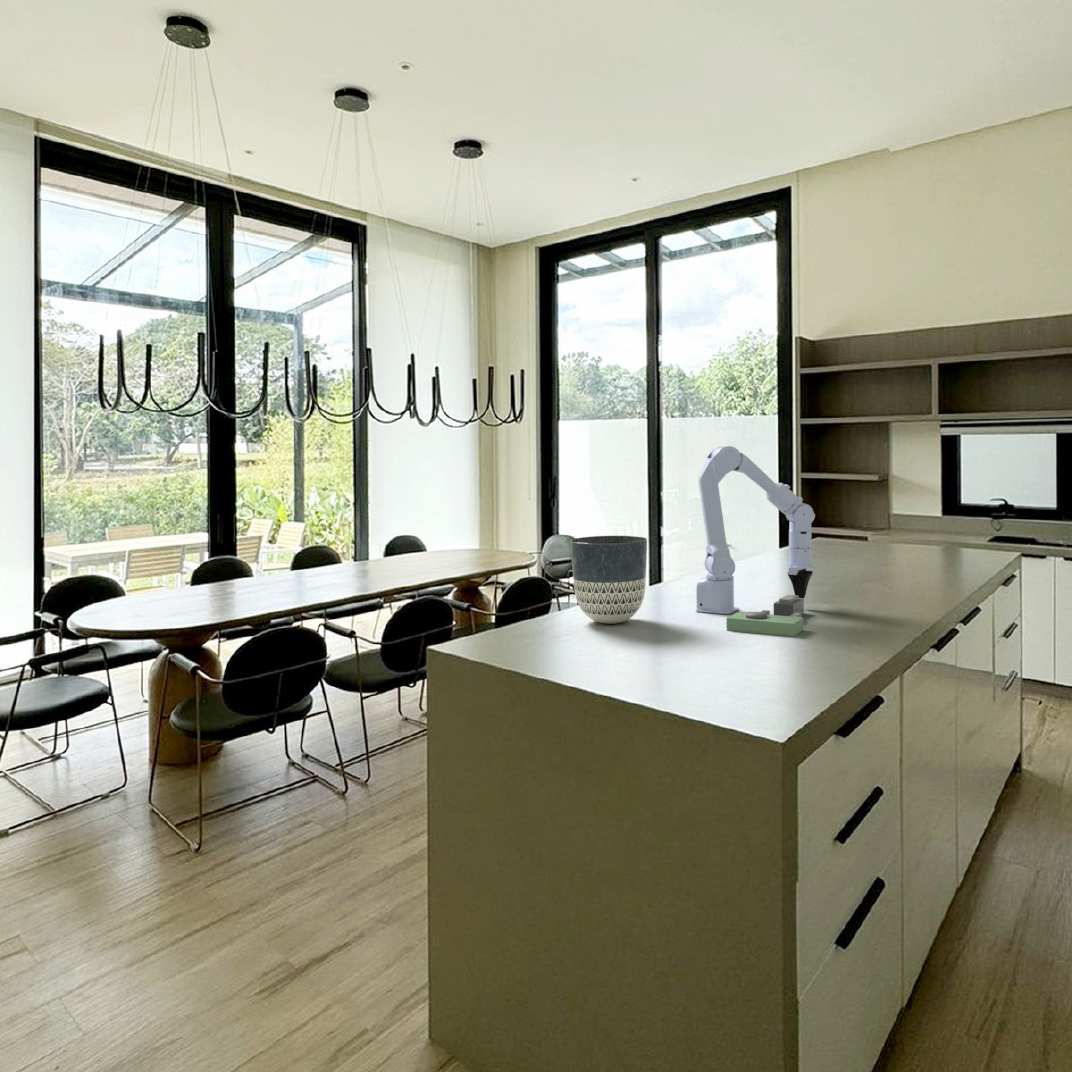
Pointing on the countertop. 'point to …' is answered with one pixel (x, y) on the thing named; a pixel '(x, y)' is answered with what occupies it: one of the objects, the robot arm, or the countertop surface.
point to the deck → (766, 623)
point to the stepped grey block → (789, 605)
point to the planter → (609, 576)
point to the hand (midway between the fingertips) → (800, 597)
